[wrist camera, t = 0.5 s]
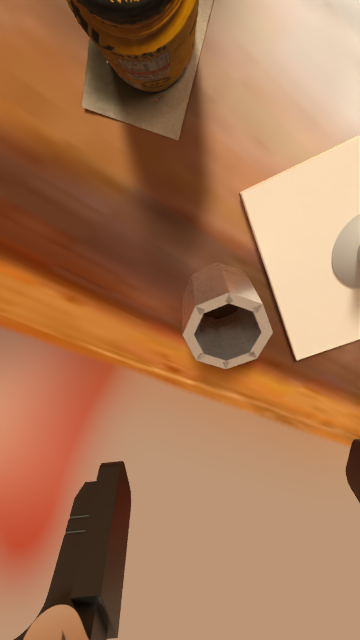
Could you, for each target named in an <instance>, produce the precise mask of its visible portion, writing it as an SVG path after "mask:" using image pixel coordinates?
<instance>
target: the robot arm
mask: <svg viewBox="0 0 360 640" xmlns="http://www.w3.org/2000/svg"><path fill="white" fill-rule="evenodd" d="M346 476H347V480H348V483H349V485H350V487H351V489H352V491H353V492H354V494H355V496H356V497H357V499H358V501H359V502H360V439H356V440H354V441H353V442H352V445H351V449H350V453H349V458H348V462H347V466H346ZM130 511H131V491H130V486H129V482H128V477H127V473H126V469H125V464H124V462H123V461H119V462H108V463H102V464H101V465H100V468H99V472H98V476H97V481H94V482H85V484H84V485H83V487H82V488H81V490H80V491H79V493H78V494H77V496H76V497H75V499H74V503H73V506H72V510H71V514H70V519H69V521H68V525H67V528H66V534H65V535H64V539H63V542H62V546H61V549H60V553H59V557H58V560H57V563H56V567H55V571H54V575H53V578H52V582H51V585H50V588H49V592H48V595H47V598H46V601H45V603H44V606H43V608H42V609H41V611H40V613H39V615H38V616H37V618H36V619H35V620H34V622H33V623H32V624H31V625H30V626H29V628H28V629H27V630H25V631H24V632H23V633H22V634H21V635H20V636H18V637H17V638H16V639H14V640H106V639H109V638H117V637H118V628H119V618H120V609H121V598H122V589H123V579H124V570H125V560H126V550H127V540H128V529H129V520H130Z"/></svg>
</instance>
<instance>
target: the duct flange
mask: <svg viewBox="0 0 360 640" xmlns="http://www.w3.org/2000/svg"><path fill="white" fill-rule="evenodd" d="M239 193H240V196H241V199H242V202H243V205H244V208H245V211H246V214H247V217H248V220H249V223H250V226H251V229H252V232H253V235H254V238H255V241H256V244H257V247H258V250H259V253H260V255H261V258H262V261H263V264H264V267H265V270H266V273H267V276H268V279H269V282H270V285H271V288H272V291H273V294H274V297H275V300H276V303H277V306H278V309H279V312H280V315H281V318H282V321H283V324H284V327H285V330H286V333H287V336H288V339H289V342H290V345H291V348H292V351H293V354H294V356H295V358H296V360H299V359H302V358H305V357H308V356H311V355H314V354H317V353H320V352H323V351H326V350H329V349H332V348H335V347H338V346H341V345H344V344H347V343H350V342H353V341H356V340H359V339H360V135H359V136H357V137H355V138H353V139H350V140H348V141H346V142H344V143H342V144H340V145H338V146H336V147H334V148H332V149H329V150H327V151H325V152H323V153H321V154H319V155H317V156H315V157H313V158H311V159H308V160H306V161H304V162H302V163H300V164H298V165H296V166H294V167H292V168H290V169H288V170H285V171H283V172H281V173H279V174H277V175H275V176H273V177H271V178H269V179H267V180H264V181H262V182H260V183H258V184H256V185H254V186H252V187H250V188H248V189H246V190H243V191H241V192H239Z"/></svg>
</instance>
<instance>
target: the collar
mask: <svg viewBox="0 0 360 640" xmlns="http://www.w3.org/2000/svg"><path fill="white" fill-rule="evenodd" d="M228 303H230V304H233V305H236V306H239V307H238V309H237V311H236V312H235V313H232V314H230V315H227V316H225V317H222V318H219V319H215V318H212V317H209V316H206V315H203V314H204V313H206V312H208V311H211V310H213V309H216V308H218V307H221V306H223V305H226V304H228ZM182 306H183V337H184V338H185V340H186V342H187V344H188V346H189V348H190V350H191V351H192V353H193V355H194V357H195V359H196V360H197V361H200V362H204V363H207V364H210V365H213V366H217V367H220V368H223V369H228V368H231V367H234V366H237V365H240V364H243V363H245V362H248V361H251V360H254V359H257V357H258V356H259V354H260V352H261V351H262V349H263V348H264V346H265V344H266V343H267V341H268V339H269V338H270V336H271V334H272V333H273V331H272V329H271V326H270V323H269V320H268V317H267V315H266V312H265V309H264V306H263V304H262V302H261V300H260V298H259V296H258V295H257V293H256V291H255V289H254V287H253V286H252V284H251V282H250V280H249V278H248V276H247V275H246V273H245V271H242V270H240V269H237V268H234V267H231V266H229V265H226V264H223V263H221V262H217V263H215V264H213V265H210V266H208V267H206V268H203V269H201V270H199V271H196V272H194V273H192V275H191V278H190V280H189V283H188V285H187V287H186V290H185V292H184V295H183V297H182Z"/></svg>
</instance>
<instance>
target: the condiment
mask: <svg viewBox="0 0 360 640" xmlns="http://www.w3.org/2000/svg"><path fill="white" fill-rule="evenodd" d="M67 2H68V5H69V7H70V8H71V10H72V11H73V13H74V15H75V17H76V19H77V21H78V23H79V24H80V25H81V26H82V28H83V29H84V30H85V32H86V33H87V35H88V36H89V37H90V41H89V47H88V59H87V69H86V77H85V84H84V91H83V101H82V107H83V108H86V109H88V110H91V111H94V112H97V113H100V114H103V115H106V116H108V117H111V118H114V119H117V120H120V121H123V122H126V123H129V124H132V125H134V126H137V127H140V128H143V129H146V130H149V131H152V132H155V133H157V134H160V135H163V136H166V137H169V138H172V139H175V140H179V136H180V132H181V128H182V124H183V120H184V116H185V112H186V108H187V103H188V100H189V96H190V92H191V88H192V84H193V80H194V76H195V72H196V68H197V64H198V60H199V56H200V52H201V48H202V44H203V40H204V36H205V32H206V28H207V24H208V20H209V16H210V12H211V8H212V4H213V0H67ZM106 60H107V61H108V62H109V63H107V62H106ZM161 94H164V95H163V97H160V95H161ZM157 98H159V101H157V102H155V100H156V99H157Z"/></svg>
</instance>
